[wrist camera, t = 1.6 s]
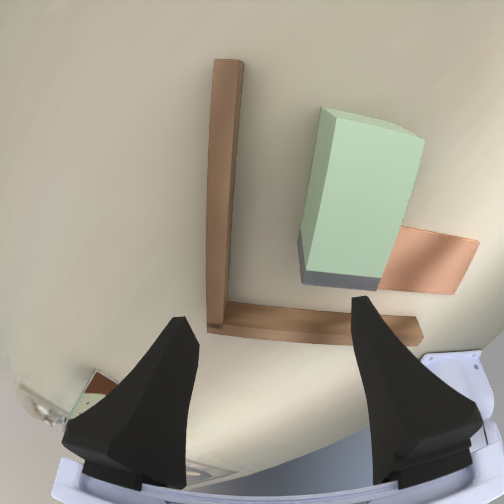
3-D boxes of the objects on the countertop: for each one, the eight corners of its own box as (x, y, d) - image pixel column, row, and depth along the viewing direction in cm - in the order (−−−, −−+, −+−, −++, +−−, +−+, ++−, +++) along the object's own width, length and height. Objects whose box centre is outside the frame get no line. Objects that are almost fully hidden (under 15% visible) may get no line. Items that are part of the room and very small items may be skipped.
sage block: (393, 122, 15) (426, 139, 11) (360, 249, 20) (376, 291, 17) (320, 106, 15) (335, 117, 11) (297, 241, 20) (301, 284, 17)
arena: (512, 138, 14) (533, 149, 12) (432, 326, 24) (440, 345, 22) (222, 61, 14) (214, 58, 12) (212, 310, 24) (207, 332, 22)
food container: (75, 374, 35) (51, 430, 27) (86, 362, 32) (58, 426, 24) (144, 414, 39) (129, 469, 31) (163, 407, 36) (147, 469, 28)
